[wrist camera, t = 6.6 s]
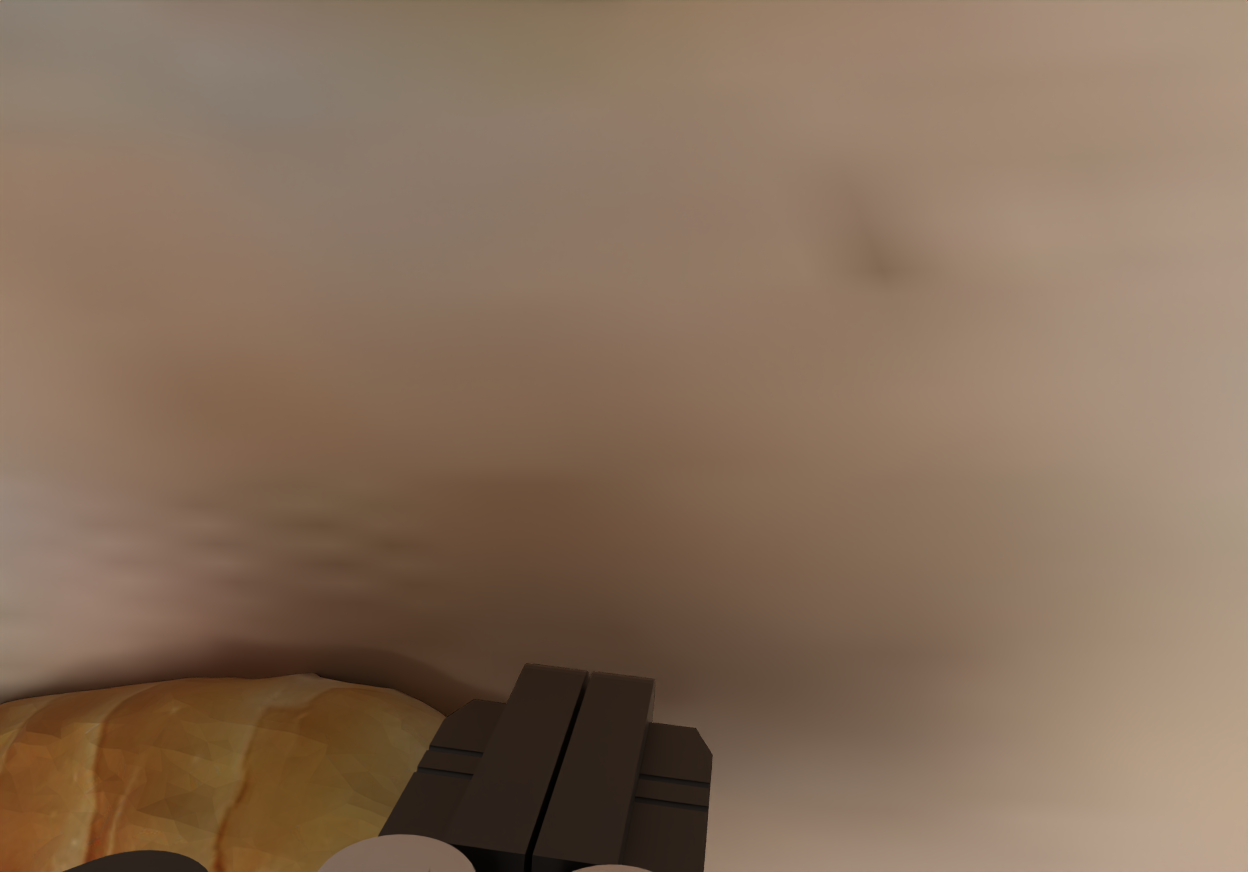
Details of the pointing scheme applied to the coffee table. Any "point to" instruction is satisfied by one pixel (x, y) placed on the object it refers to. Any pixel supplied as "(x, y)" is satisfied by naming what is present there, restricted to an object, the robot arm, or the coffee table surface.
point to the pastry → (206, 771)
